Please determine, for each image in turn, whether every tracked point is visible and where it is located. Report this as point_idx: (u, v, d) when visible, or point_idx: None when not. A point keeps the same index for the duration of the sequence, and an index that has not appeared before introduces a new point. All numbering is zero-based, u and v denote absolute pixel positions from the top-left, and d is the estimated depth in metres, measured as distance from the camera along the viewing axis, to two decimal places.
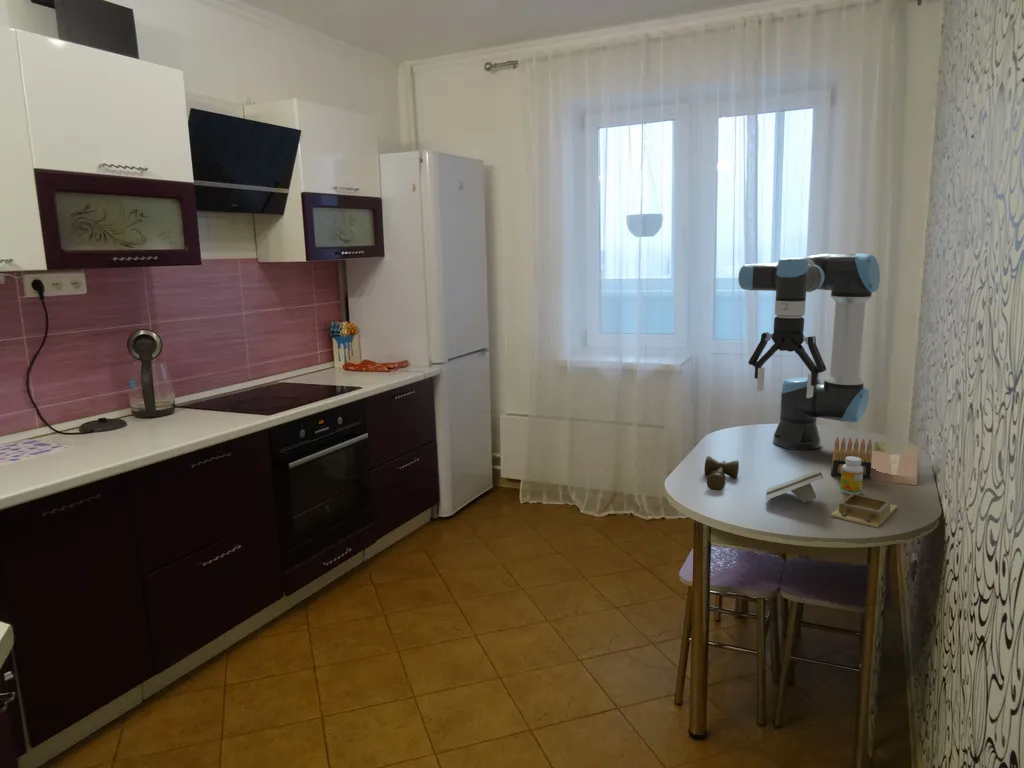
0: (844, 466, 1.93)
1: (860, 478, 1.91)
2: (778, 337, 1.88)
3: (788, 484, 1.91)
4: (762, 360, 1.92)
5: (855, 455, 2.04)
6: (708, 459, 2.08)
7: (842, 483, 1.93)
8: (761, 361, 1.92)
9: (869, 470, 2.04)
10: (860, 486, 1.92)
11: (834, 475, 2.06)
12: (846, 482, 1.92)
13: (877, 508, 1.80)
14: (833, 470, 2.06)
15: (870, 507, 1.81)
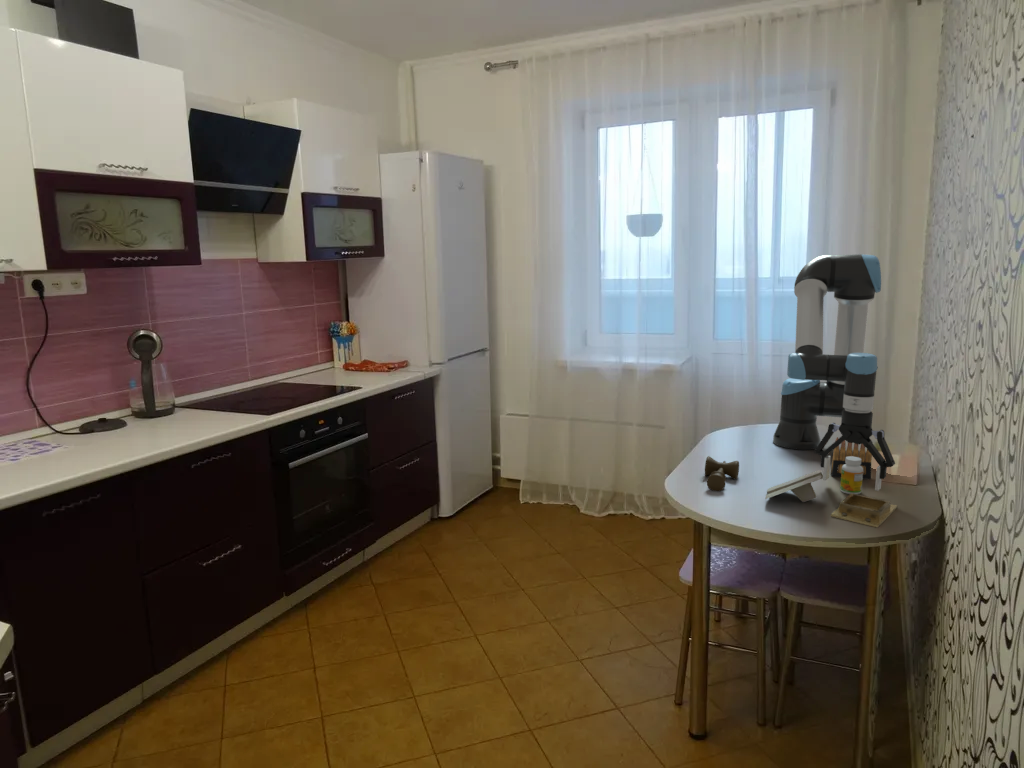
0: (844, 466, 1.93)
1: (860, 478, 1.91)
2: (846, 429, 1.91)
3: (788, 484, 1.91)
4: (829, 450, 1.95)
5: (855, 455, 2.04)
6: (708, 459, 2.07)
7: (842, 483, 1.93)
8: (828, 451, 1.95)
9: (869, 470, 2.04)
10: (860, 486, 1.92)
11: (834, 475, 2.06)
12: (846, 482, 1.92)
13: (877, 508, 1.80)
14: (833, 470, 2.06)
15: (870, 507, 1.81)
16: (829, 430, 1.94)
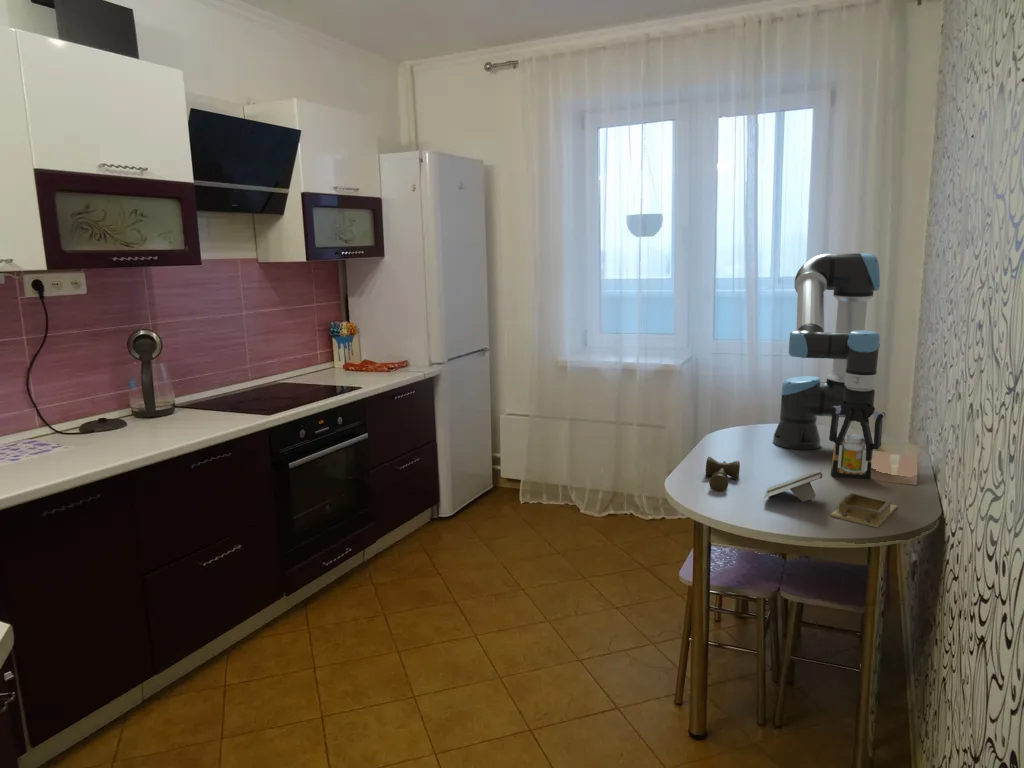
0: (846, 444, 1.92)
1: (861, 456, 1.90)
2: (848, 407, 1.90)
3: (788, 483, 1.91)
4: (841, 435, 1.93)
5: None
6: (709, 460, 2.07)
7: (844, 461, 1.93)
8: (840, 437, 1.93)
9: (869, 470, 2.04)
10: None
11: (834, 475, 2.06)
12: (848, 460, 1.92)
13: (877, 508, 1.80)
14: (833, 470, 2.06)
15: (870, 507, 1.81)
16: (833, 413, 1.93)
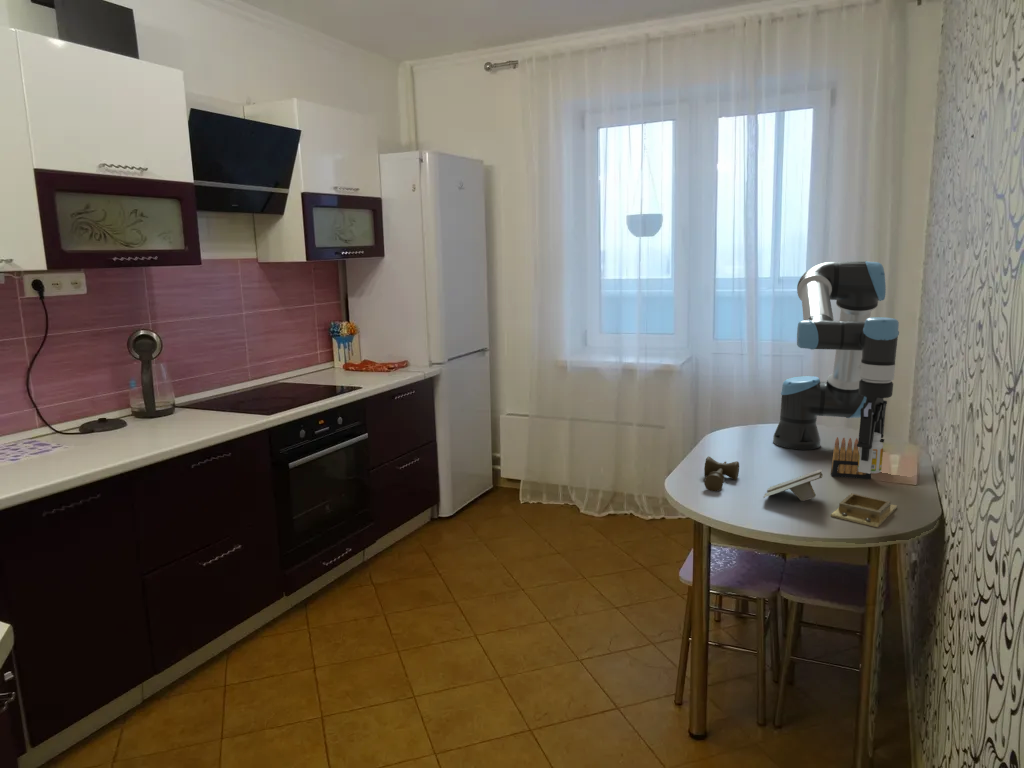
0: None
1: None
2: None
3: (788, 483, 1.92)
4: None
5: (855, 455, 2.04)
6: (708, 460, 2.07)
7: None
8: None
9: None
10: None
11: (834, 475, 2.06)
12: None
13: (877, 508, 1.80)
14: (833, 470, 2.06)
15: (870, 507, 1.81)
16: None
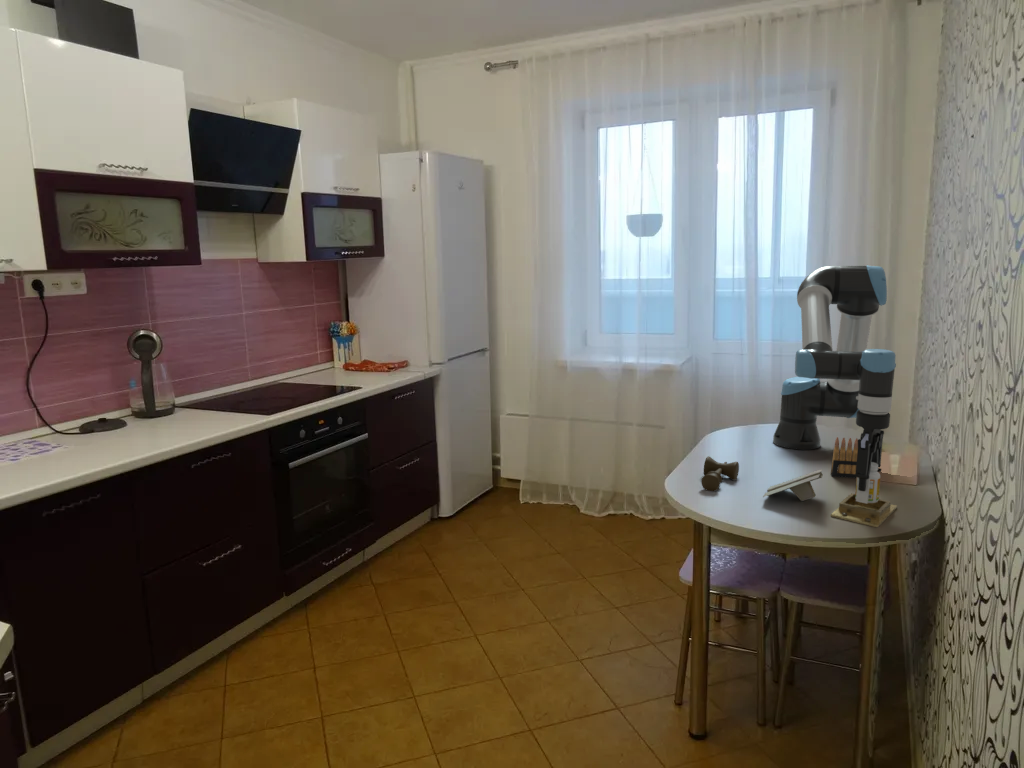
0: None
1: None
2: None
3: (788, 482, 1.92)
4: None
5: (855, 455, 2.04)
6: (707, 459, 2.07)
7: None
8: None
9: None
10: None
11: (834, 475, 2.06)
12: None
13: (877, 508, 1.80)
14: (833, 470, 2.06)
15: (870, 507, 1.81)
16: None
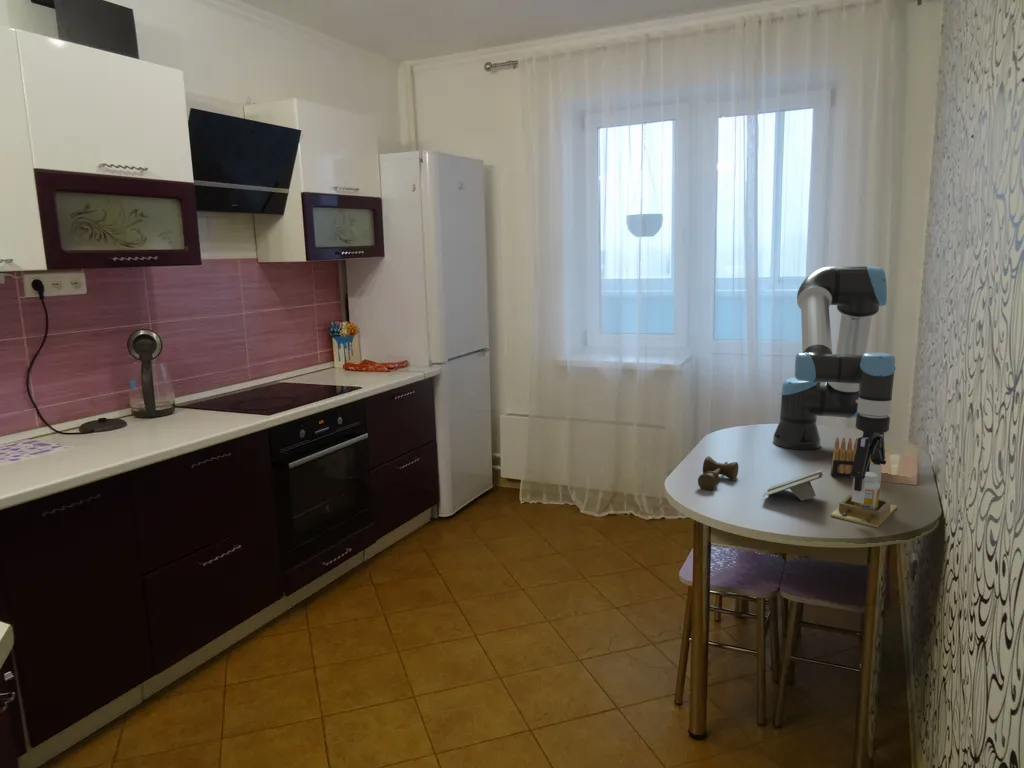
0: None
1: None
2: None
3: (788, 482, 1.92)
4: None
5: None
6: (707, 459, 2.08)
7: None
8: None
9: None
10: (861, 503, 1.77)
11: (834, 475, 2.06)
12: None
13: None
14: (833, 470, 2.06)
15: None
16: None
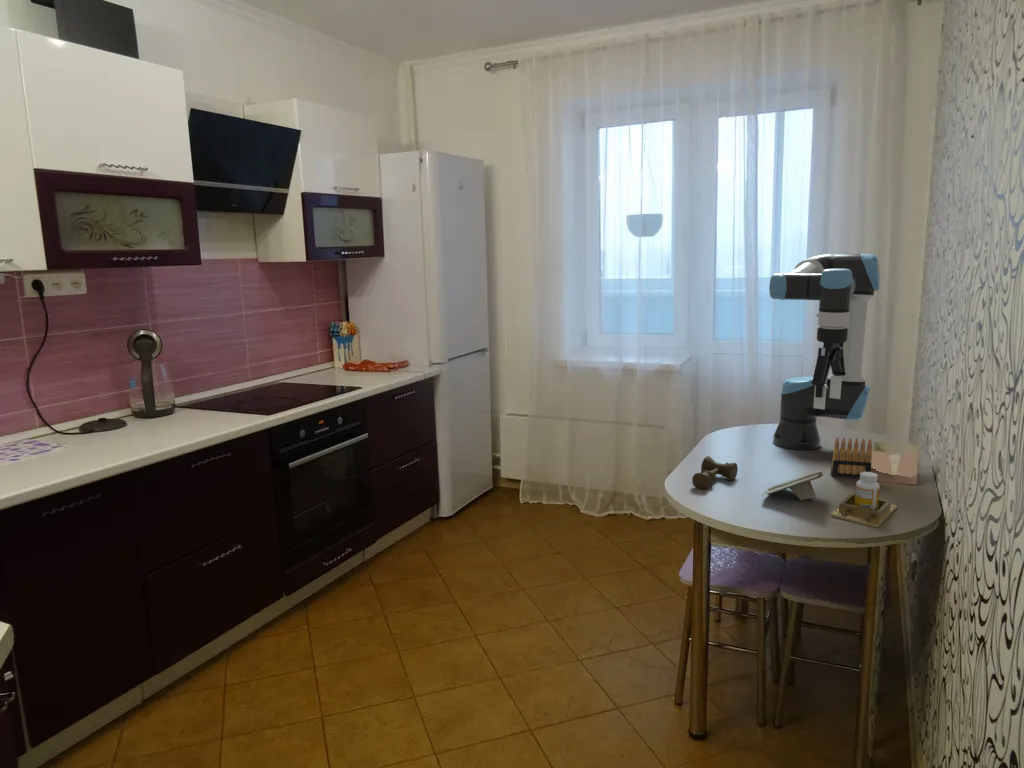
0: None
1: (859, 494, 1.77)
2: None
3: (789, 482, 1.93)
4: None
5: (855, 455, 2.04)
6: (706, 459, 2.08)
7: None
8: None
9: (869, 470, 2.04)
10: (861, 503, 1.77)
11: (834, 475, 2.06)
12: None
13: None
14: (833, 470, 2.06)
15: None
16: None
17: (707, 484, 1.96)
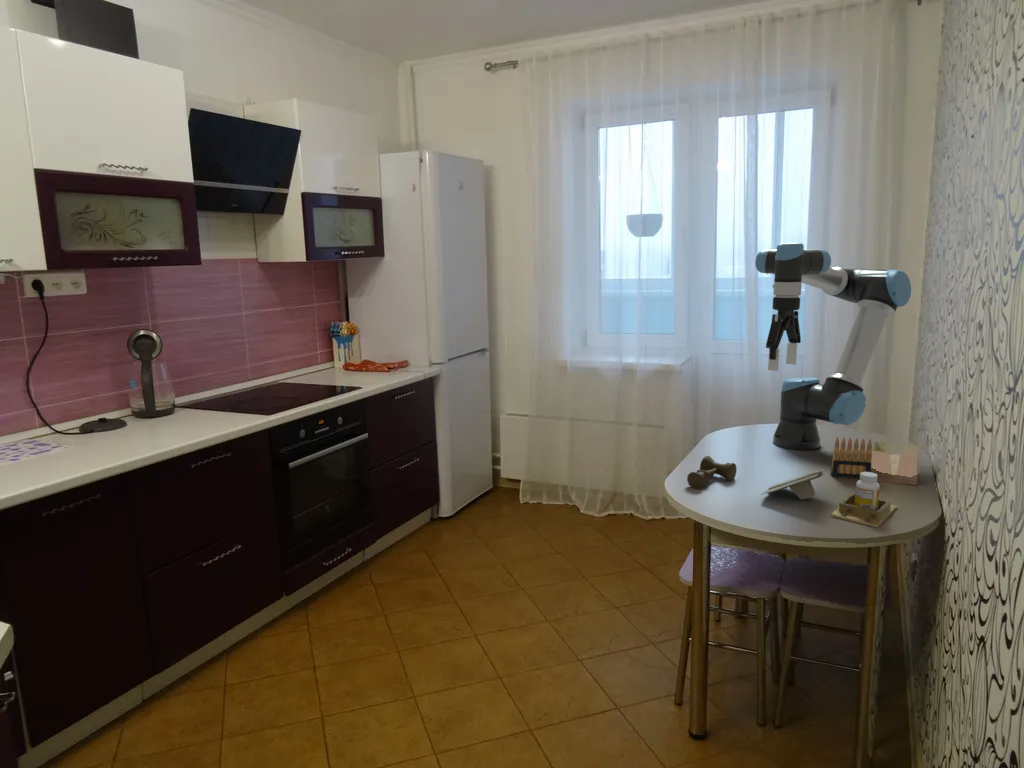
0: None
1: (859, 494, 1.77)
2: None
3: (789, 481, 1.93)
4: None
5: (855, 455, 2.04)
6: (705, 458, 2.08)
7: None
8: None
9: (869, 470, 2.04)
10: (861, 504, 1.77)
11: (834, 475, 2.06)
12: None
13: None
14: (833, 470, 2.06)
15: None
16: None
17: (701, 483, 1.97)
